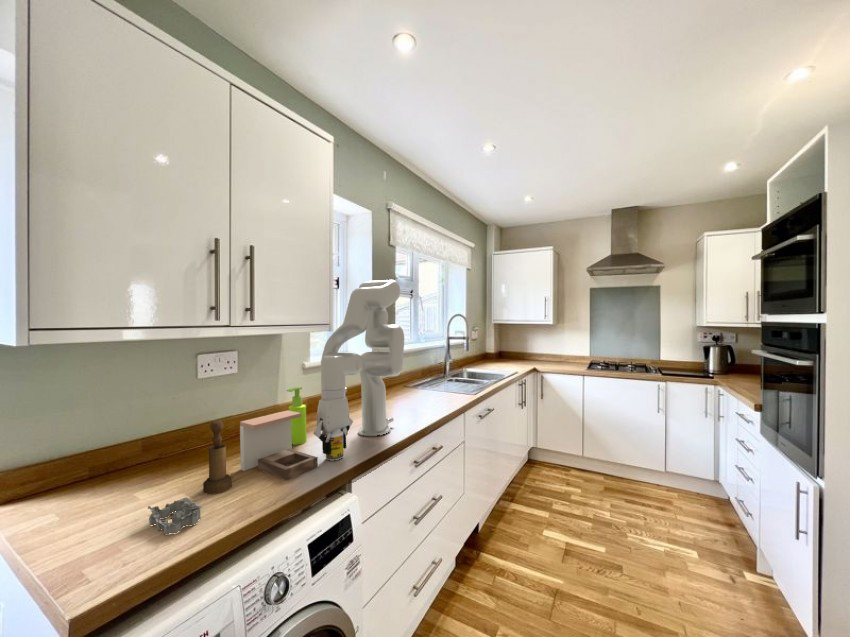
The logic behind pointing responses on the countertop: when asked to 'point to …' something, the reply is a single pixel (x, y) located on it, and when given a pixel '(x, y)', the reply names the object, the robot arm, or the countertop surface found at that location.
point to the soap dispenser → (298, 423)
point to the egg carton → (175, 515)
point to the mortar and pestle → (217, 464)
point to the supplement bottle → (336, 445)
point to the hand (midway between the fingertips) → (334, 450)
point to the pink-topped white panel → (265, 437)
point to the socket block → (281, 460)
